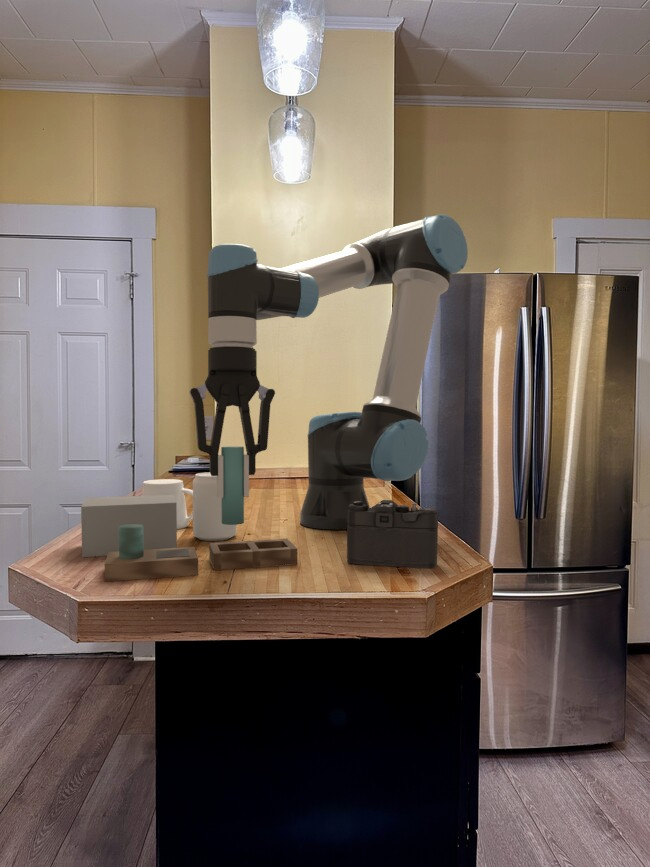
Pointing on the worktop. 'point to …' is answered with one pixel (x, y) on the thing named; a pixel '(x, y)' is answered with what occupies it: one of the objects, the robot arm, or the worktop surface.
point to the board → (147, 558)
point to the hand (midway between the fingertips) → (232, 495)
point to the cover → (128, 522)
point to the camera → (392, 535)
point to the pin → (232, 485)
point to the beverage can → (209, 510)
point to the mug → (170, 488)
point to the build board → (252, 554)
